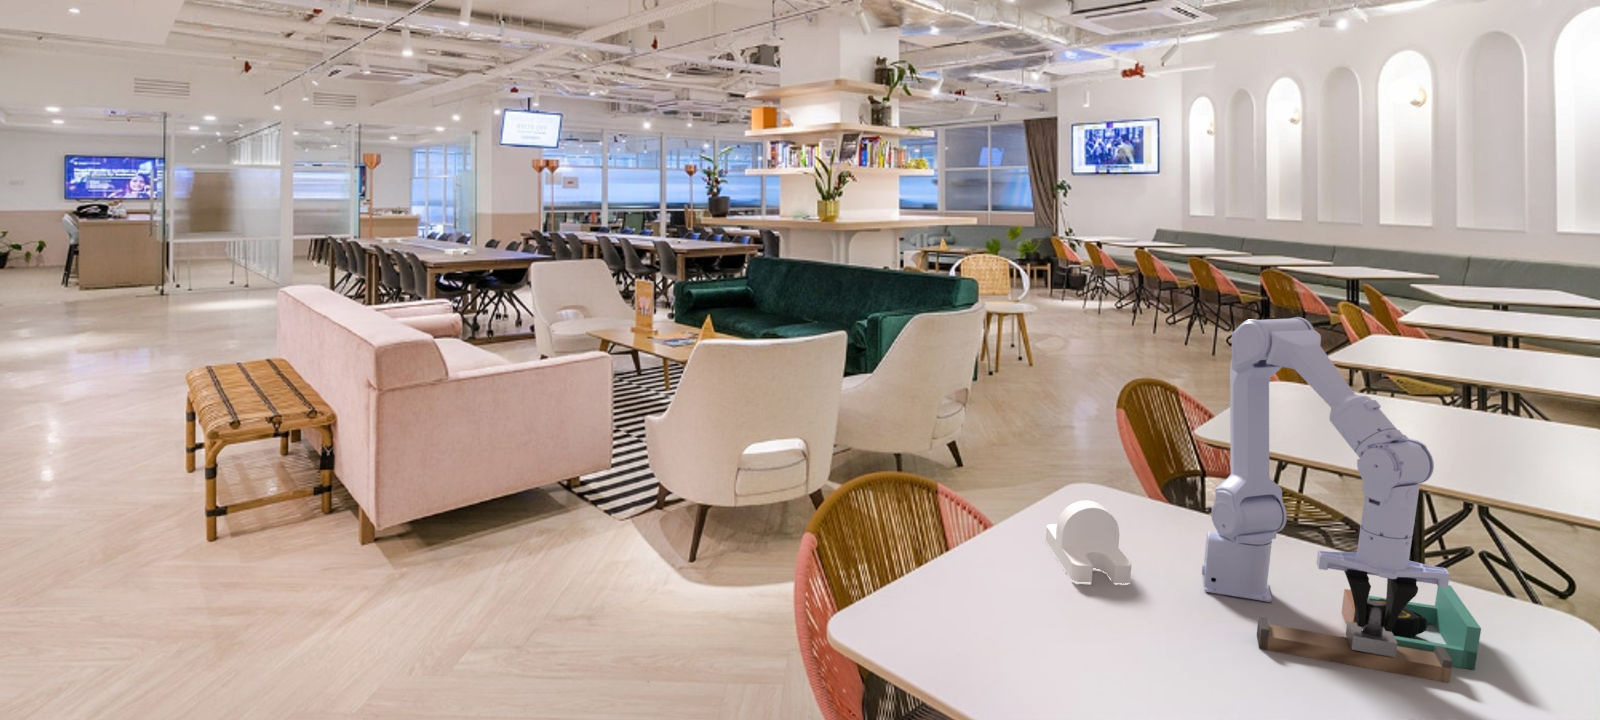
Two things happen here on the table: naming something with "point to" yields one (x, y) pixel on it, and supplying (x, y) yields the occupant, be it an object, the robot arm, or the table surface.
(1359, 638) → the rod slider
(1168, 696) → the table surface
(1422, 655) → the rail
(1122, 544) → the table surface
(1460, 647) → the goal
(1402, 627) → the tape measure
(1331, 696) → the table surface
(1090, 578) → the white slotted holder
